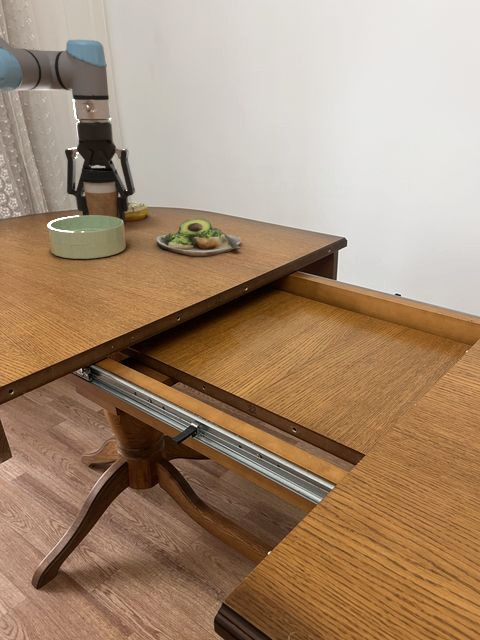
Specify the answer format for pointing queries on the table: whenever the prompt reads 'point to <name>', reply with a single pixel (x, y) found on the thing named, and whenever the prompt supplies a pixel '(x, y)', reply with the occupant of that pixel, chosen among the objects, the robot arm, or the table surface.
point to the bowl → (86, 236)
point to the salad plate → (198, 239)
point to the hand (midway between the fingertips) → (105, 224)
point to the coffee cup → (100, 191)
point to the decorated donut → (136, 211)
